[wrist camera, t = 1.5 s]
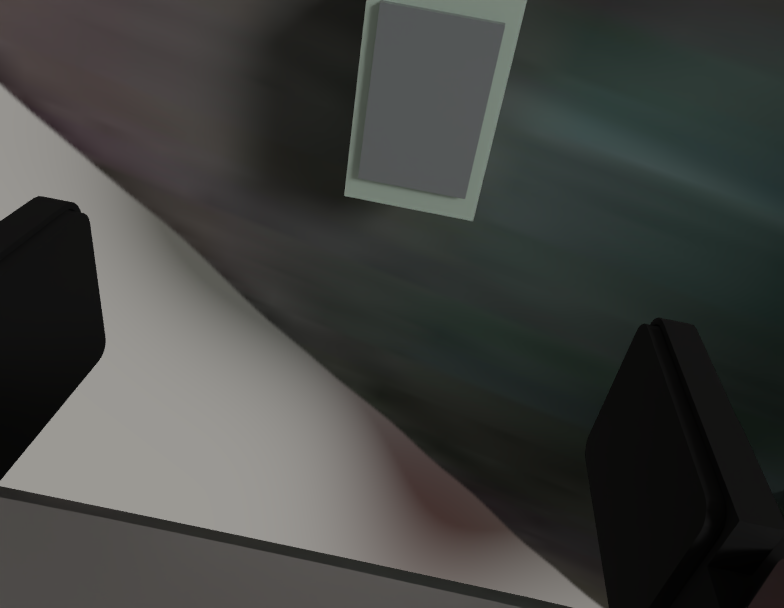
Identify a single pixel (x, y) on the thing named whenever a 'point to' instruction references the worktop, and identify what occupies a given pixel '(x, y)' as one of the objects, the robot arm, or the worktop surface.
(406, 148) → the block
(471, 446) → the worktop surface
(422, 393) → the worktop surface
